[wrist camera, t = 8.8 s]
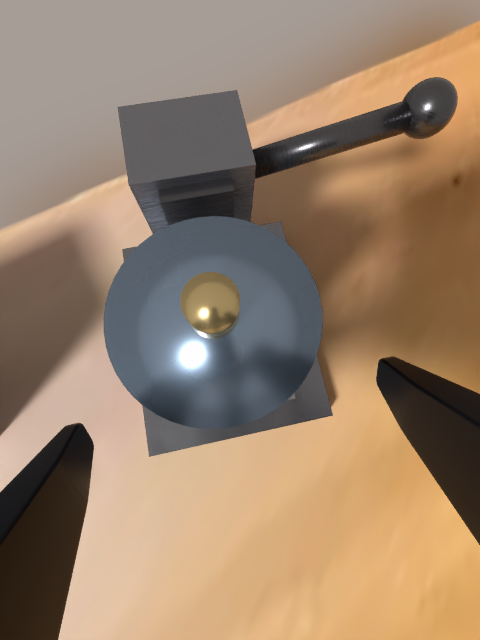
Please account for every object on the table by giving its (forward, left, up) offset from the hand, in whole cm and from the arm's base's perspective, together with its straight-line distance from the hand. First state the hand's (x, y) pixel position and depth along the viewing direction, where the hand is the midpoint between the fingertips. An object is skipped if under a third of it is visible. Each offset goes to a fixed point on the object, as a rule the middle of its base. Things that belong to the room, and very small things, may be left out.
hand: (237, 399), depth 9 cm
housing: (+2, -1, -8) cm, 8 cm away
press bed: (+3, -4, -9) cm, 10 cm away
